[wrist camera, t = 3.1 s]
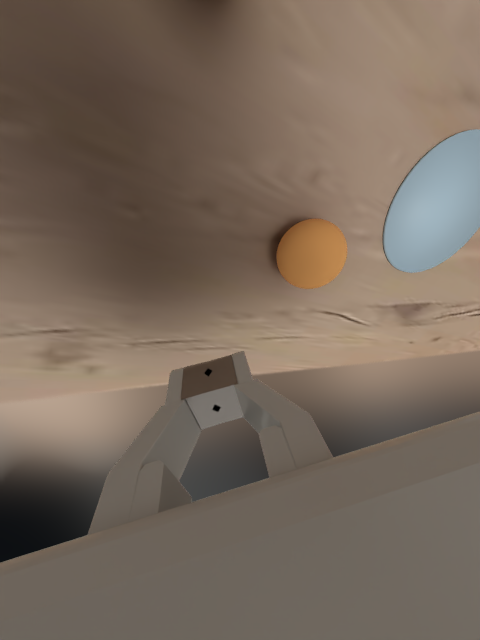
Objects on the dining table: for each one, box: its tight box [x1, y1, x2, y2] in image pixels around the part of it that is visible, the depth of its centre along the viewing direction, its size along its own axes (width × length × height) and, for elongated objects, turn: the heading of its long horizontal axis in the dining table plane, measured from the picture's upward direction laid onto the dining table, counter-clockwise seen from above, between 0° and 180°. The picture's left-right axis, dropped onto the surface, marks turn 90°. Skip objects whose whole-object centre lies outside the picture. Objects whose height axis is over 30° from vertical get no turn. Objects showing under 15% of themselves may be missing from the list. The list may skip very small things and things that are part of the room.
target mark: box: [383, 130, 480, 273], centre depth 20 cm, size 12×12×1 cm
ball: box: [277, 219, 347, 289], centre depth 17 cm, size 5×5×5 cm
